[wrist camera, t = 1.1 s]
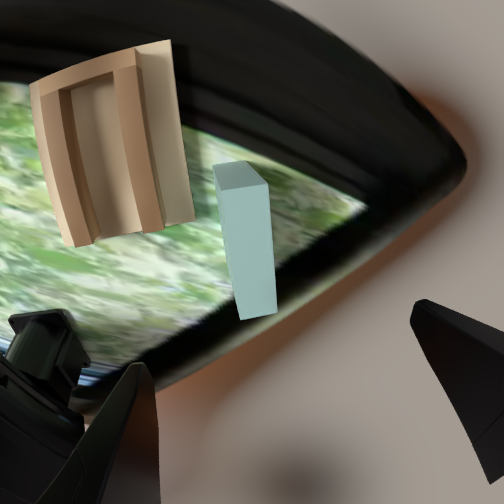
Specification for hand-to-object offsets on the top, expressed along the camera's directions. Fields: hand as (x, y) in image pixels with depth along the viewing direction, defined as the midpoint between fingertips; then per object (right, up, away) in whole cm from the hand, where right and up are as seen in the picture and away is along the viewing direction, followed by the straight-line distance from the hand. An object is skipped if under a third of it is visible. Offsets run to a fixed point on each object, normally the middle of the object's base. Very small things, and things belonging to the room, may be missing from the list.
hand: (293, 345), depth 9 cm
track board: (-10, +9, +7) cm, 15 cm away
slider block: (-2, +5, +11) cm, 12 cm away
